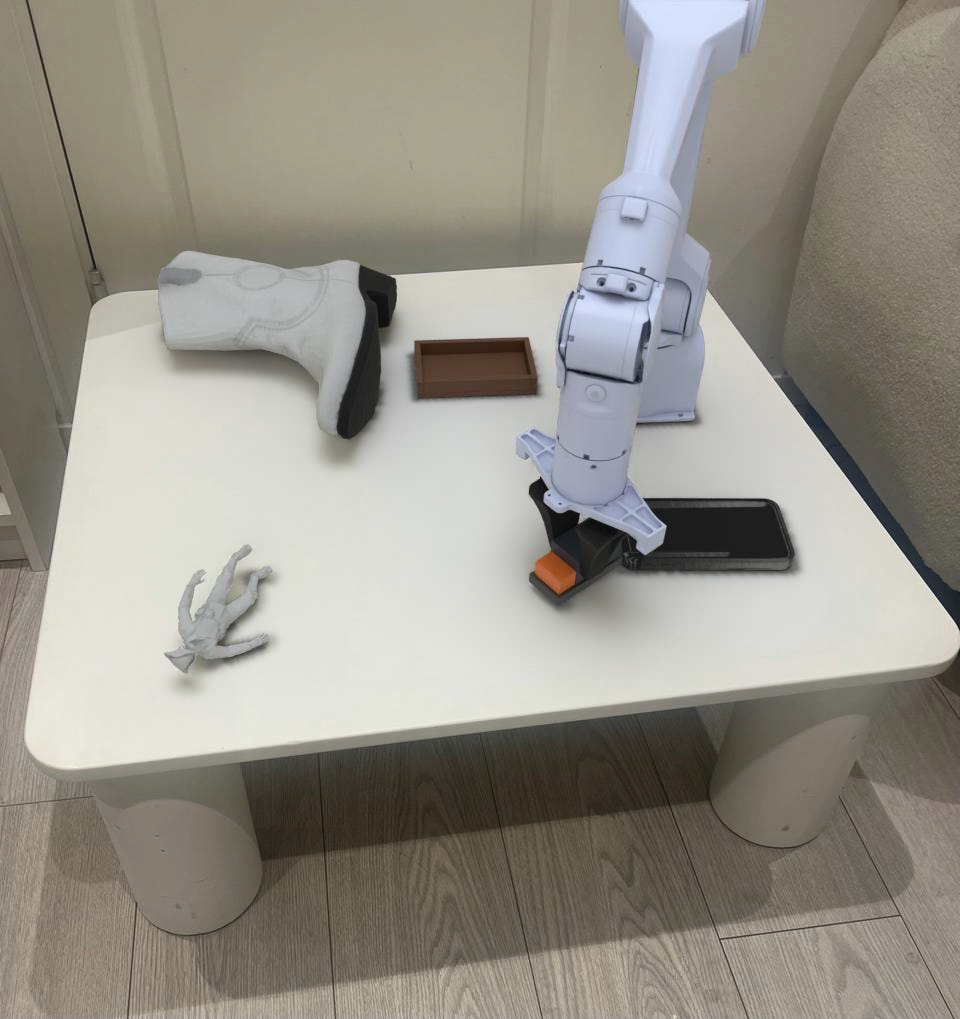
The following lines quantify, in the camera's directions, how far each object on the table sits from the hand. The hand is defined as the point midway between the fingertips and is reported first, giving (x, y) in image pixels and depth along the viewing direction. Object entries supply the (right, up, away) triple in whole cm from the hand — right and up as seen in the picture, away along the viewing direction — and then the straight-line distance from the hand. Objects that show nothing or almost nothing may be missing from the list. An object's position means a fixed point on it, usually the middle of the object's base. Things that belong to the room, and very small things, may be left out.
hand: (577, 559), depth 85 cm
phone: (+12, +2, +6) cm, 13 cm away
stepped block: (0, -1, +1) cm, 2 cm away
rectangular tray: (-9, +18, +22) cm, 30 cm away
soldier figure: (-29, -5, -3) cm, 29 cm away
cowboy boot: (-30, +19, +21) cm, 41 cm away
